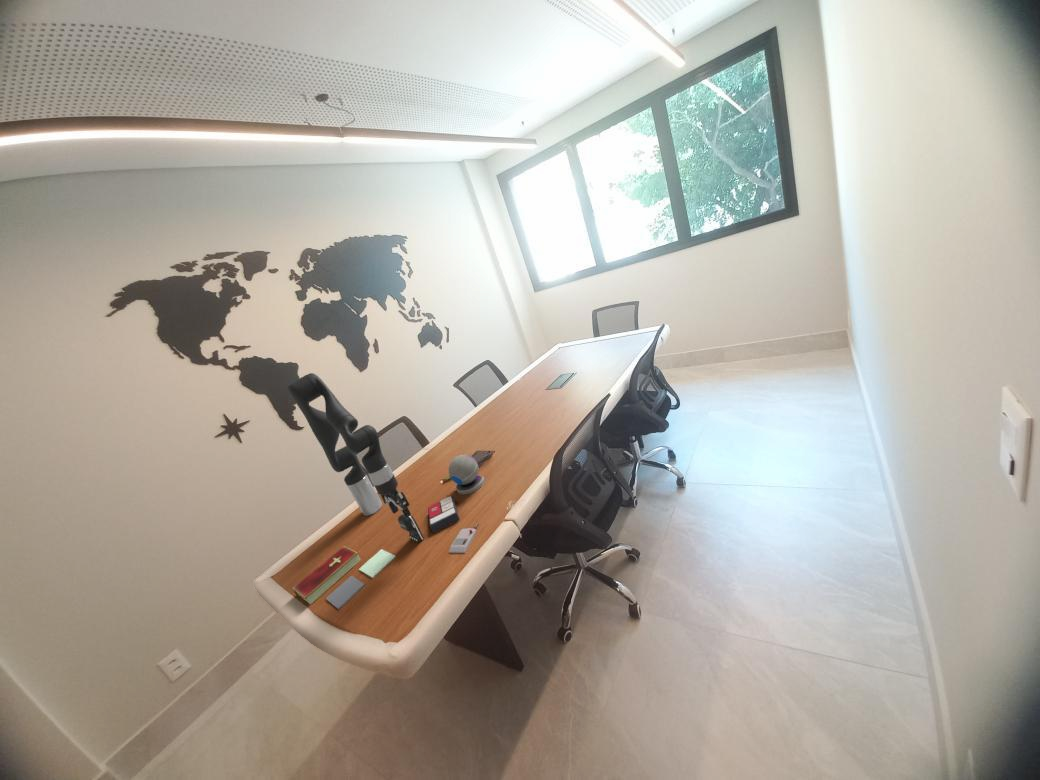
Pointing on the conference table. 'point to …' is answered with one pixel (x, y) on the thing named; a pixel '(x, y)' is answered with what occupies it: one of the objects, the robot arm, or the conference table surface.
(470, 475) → the webcam
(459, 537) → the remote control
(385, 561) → the green pad
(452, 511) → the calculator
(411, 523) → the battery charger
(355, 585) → the charcoal pad
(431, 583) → the conference table surface
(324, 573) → the hardcover book
